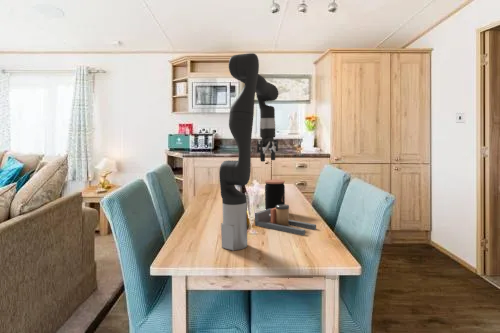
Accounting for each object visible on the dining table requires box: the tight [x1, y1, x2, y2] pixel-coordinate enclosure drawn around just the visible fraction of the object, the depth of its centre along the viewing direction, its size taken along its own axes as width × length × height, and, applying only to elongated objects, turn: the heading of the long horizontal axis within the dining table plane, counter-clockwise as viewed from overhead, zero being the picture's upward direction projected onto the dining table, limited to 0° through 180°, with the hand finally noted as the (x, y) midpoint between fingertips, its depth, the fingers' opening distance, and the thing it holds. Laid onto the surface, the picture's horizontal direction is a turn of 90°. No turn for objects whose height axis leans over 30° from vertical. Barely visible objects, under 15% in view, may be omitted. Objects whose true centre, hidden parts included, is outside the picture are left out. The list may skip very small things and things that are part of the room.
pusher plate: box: [269, 208, 276, 224], centre depth 152 cm, size 4×7×8 cm, turn 140°
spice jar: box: [276, 203, 290, 227], centre depth 149 cm, size 6×6×10 cm
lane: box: [254, 208, 317, 236], centre depth 148 cm, size 26×12×6 cm, turn 50°
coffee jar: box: [264, 179, 286, 210], centre depth 174 cm, size 11×11×18 cm
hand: (268, 160), depth 158 cm, fingers open, 8 cm apart
